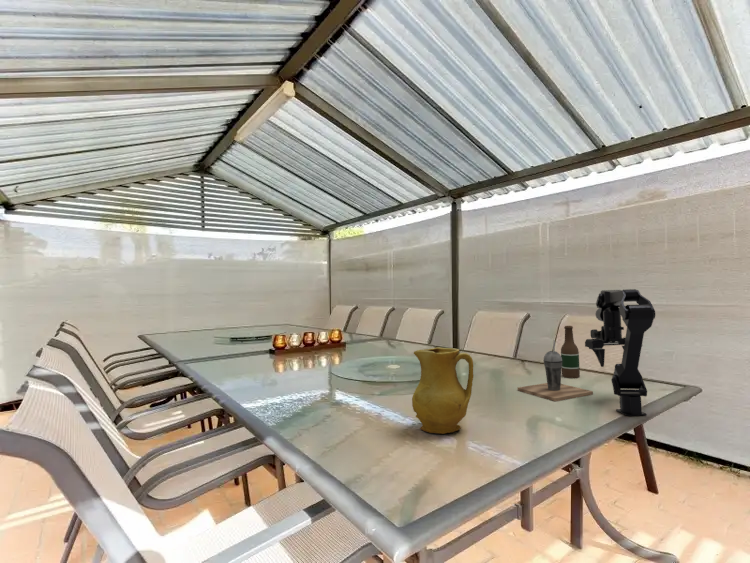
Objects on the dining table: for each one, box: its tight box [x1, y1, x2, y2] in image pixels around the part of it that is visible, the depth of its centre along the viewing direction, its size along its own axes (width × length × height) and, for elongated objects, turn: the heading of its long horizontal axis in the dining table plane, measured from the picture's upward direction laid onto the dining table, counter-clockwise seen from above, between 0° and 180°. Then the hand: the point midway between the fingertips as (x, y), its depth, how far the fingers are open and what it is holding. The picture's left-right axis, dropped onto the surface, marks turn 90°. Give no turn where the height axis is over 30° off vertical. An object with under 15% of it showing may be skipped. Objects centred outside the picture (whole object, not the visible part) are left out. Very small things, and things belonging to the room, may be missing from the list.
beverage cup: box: [543, 339, 563, 391], centre depth 170 cm, size 7×7×20 cm
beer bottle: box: [560, 325, 581, 379], centre depth 197 cm, size 8×8×24 cm
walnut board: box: [517, 382, 594, 402], centre depth 170 cm, size 20×20×1 cm
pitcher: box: [411, 346, 474, 435], centre depth 131 cm, size 17×19×25 cm
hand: (614, 366), depth 154 cm, fingers open, 9 cm apart
